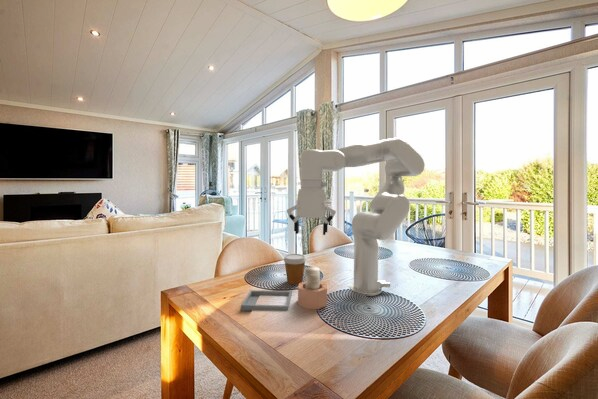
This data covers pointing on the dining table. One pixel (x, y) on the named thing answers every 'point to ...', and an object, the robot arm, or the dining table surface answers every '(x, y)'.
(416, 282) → the dining table surface
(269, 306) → the tray
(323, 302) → the terracotta octagonal pot
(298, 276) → the disposable coffee cup
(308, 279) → the peg
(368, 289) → the robot arm
